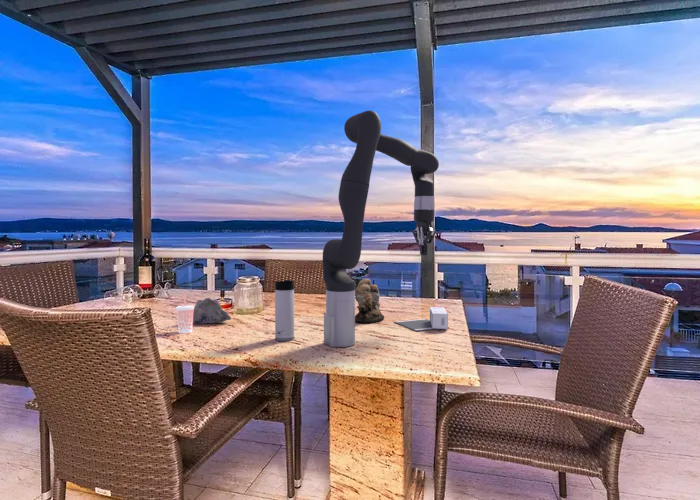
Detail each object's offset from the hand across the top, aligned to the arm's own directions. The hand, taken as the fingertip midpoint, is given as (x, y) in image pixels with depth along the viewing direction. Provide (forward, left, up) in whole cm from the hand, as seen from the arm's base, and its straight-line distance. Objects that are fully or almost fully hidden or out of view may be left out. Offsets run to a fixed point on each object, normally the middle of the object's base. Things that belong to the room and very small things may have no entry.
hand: (423, 255), depth 155 cm
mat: (0, +1, -27) cm, 27 cm away
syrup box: (+1, -9, -24) cm, 25 cm away
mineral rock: (-74, +36, -27) cm, 86 cm away
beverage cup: (-83, +25, -27) cm, 91 cm away
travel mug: (-53, +1, -27) cm, 60 cm away
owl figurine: (-14, +18, -27) cm, 36 cm away
